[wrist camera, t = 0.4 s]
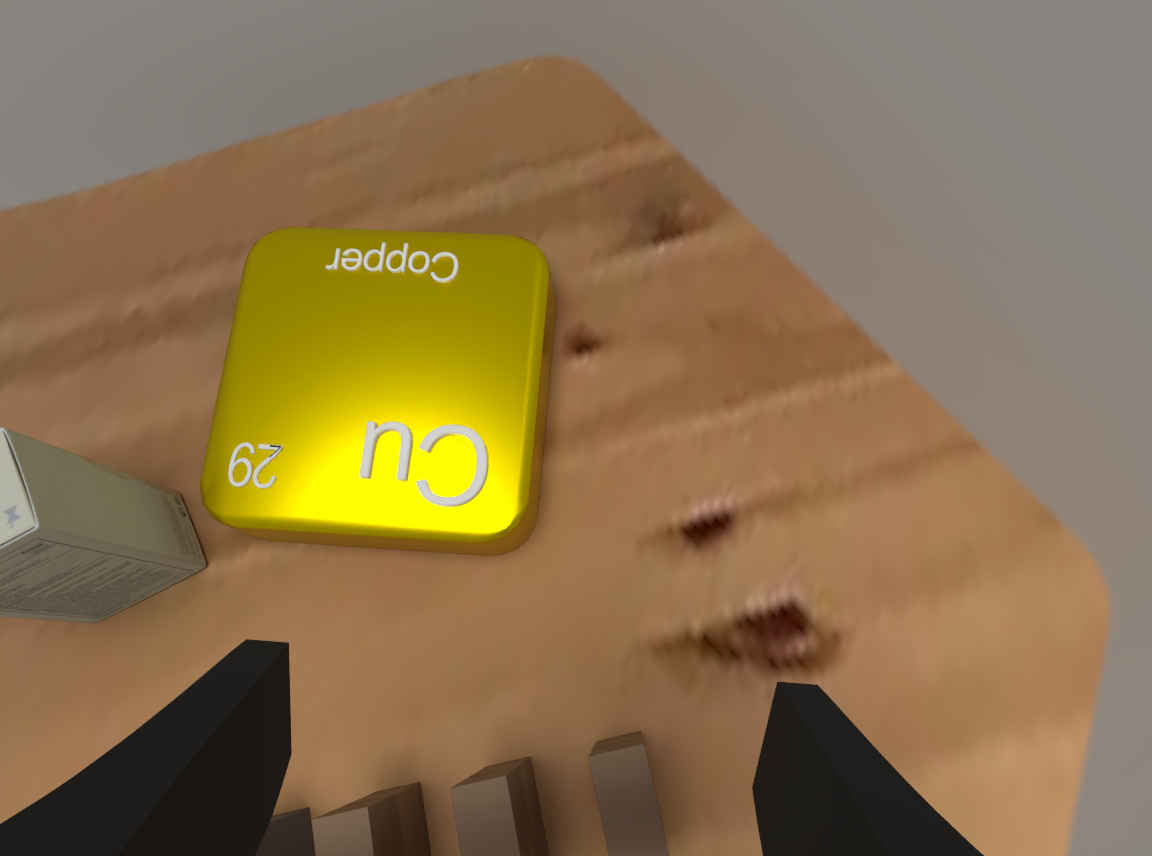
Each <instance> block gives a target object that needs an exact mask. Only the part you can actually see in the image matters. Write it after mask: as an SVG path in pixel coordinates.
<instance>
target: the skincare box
mask: <svg viewBox="0 0 1152 856" xmlns="http://www.w3.org/2000/svg"><path fill="white" fill-rule="evenodd" d="M205 567H206V561H205V558H204V556H203V553H202V550H201V547H200V544H199V541H198V539H197V536H196V533H195V531H194V528H193V525H192V523H191V520H190V518H189V515H188V513H187V510H186V507H185V505H184V503H183V500H182V498H181V496H180V494H179V492H177V491H175V490H172V489H169V488H166V487H164V486H161V485H158V484H155V483H153V482H150V481H148V480H145V479H142V478H139V477H137V476H134V475H131V474H128V473H126V472H123V471H120V470H118V469H115V468H112V467H110V466H107V465H104V464H101V463H99V462H96V461H93V460H90V459H88V458H85V457H82V456H79V455H77V454H74V453H71V452H68V451H66V450H63V449H60V448H58V447H55V446H52V445H50V444H47V443H44V442H41V441H39V440H36V439H33V438H30V437H28V436H25V435H22V434H20V433H17V432H14V431H12V430H9V429H6V428H0V617H15V618H29V619H43V620H57V621H72V622H86V623H96V622H98V621H100V620H102V619H105V618H107V617H109V616H111V615H113V614H115V613H117V612H119V611H121V610H123V609H125V608H127V607H129V606H131V605H134V604H136V603H138V602H139V601H141V600H143V599H146V598H148V597H150V596H151V595H153V594H155V593H157V592H159V591H161V590H163V589H165V588H167V587H169V586H171V585H173V584H175V583H177V582H179V581H181V580H183V579H185V578H187V577H188V576H190V575H192V574H194V573H196V572H198V571H200V570H201V569H203V568H205Z"/></svg>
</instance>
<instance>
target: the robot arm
mask: <svg viewBox="0 0 1152 856" xmlns="http://www.w3.org/2000/svg"><path fill="white" fill-rule="evenodd" d="M290 757H291V714H290V673H289V643H285V642H273V641H260V640H247V639H246V640H245V641H244V642H242V643H241V644H240V645H239V646H237V647H236V648H235V649H234V650H232V651H231V652H230V653H229V654H228V655H226V656H225V657H224V658H223V659H222V660H220V661H219V662H218V663H217V664H216V665H215V666H213V667H212V668H211V669H210V670H209V671H208V672H206V673H205V674H204V675H203V676H202V677H200V678H199V679H198V680H197V681H196V682H195V683H193V684H192V685H191V686H190V687H189V688H187V689H186V690H185V691H184V692H183V693H181V694H180V695H179V696H178V697H177V698H175V699H174V700H173V701H172V702H171V703H169V704H168V705H167V706H166V707H164V708H163V709H162V710H161V711H159V712H158V713H157V714H156V715H154V716H153V717H152V718H151V719H149V720H148V721H147V722H146V723H144V724H143V725H142V726H141V727H139V728H138V729H137V730H136V731H134V732H133V733H132V734H131V735H129V736H128V737H127V738H125V739H124V740H123V741H121V742H120V743H119V744H117V745H116V746H115V747H113V748H112V749H111V750H109V751H108V752H107V753H105V754H104V755H102V756H101V757H100V758H98V759H97V760H96V761H94V762H93V763H92V764H90V765H89V766H87V767H86V768H85V769H83V770H82V771H81V772H79V773H78V774H77V775H75V776H74V777H72V778H71V779H70V780H68V781H67V782H65V783H64V784H62V785H61V786H59V787H58V788H56V789H55V790H53V791H52V792H50V793H49V794H47V795H46V796H44V797H43V798H41V799H40V800H38V801H36V802H35V803H33V804H32V805H30V806H28V807H27V808H25V809H24V810H22V811H20V812H19V813H17V814H16V815H14V816H12V817H11V818H9V819H8V820H6V821H4V822H3V823H1V824H0V856H255V855H256V853H257V850H258V848H259V846H260V844H261V841H262V839H263V837H264V835H265V832H266V830H267V828H268V825H269V823H270V821H271V818H272V815H273V811H274V808H275V805H276V802H277V799H278V796H279V793H280V790H281V787H282V783H283V780H284V777H285V773H286V770H287V767H288V764H289V760H290ZM752 789H753V796H754V803H755V809H756V816H757V823H758V829H759V835H760V841H761V846H762V852H763V856H984V855H983V854H981V853H980V852H979V851H978V850H977V849H976V848H975V847H974V846H973V845H971V844H970V843H969V842H968V841H967V840H966V839H965V838H964V837H963V836H962V835H961V834H960V833H959V832H958V831H957V830H956V829H955V828H953V827H952V826H951V825H950V824H949V823H948V822H947V821H946V820H945V819H944V818H943V817H942V816H941V815H940V814H939V813H938V812H937V811H936V810H935V809H934V808H933V807H932V806H931V805H930V804H929V803H928V802H927V801H926V800H925V799H924V798H923V797H922V796H921V795H920V794H919V793H918V792H917V791H916V790H915V789H914V788H913V787H912V786H911V785H910V784H909V783H908V782H907V781H906V780H905V779H904V778H903V777H902V776H901V775H900V774H899V773H898V772H897V771H896V770H895V769H894V768H893V766H892V765H891V764H890V763H889V762H888V761H887V760H886V759H885V758H884V757H883V756H882V755H881V754H880V753H879V751H878V750H877V749H876V748H875V747H874V746H873V745H872V744H871V743H870V742H869V741H868V739H867V738H866V737H865V736H864V735H863V734H862V733H861V732H860V731H859V730H858V728H857V727H856V726H855V725H854V724H853V723H852V722H851V721H850V720H849V718H848V717H847V716H846V715H845V714H844V713H843V712H842V711H841V710H840V708H839V707H838V706H837V705H836V704H835V703H834V702H833V701H832V700H831V699H830V698H829V696H828V695H827V694H826V693H825V692H824V691H823V690H822V689H821V688H820V687H819V686H818V685H812V684H799V683H787V682H777V685H776V689H775V694H774V698H773V702H772V706H771V711H770V715H769V719H768V723H767V728H766V732H765V736H764V740H763V744H762V749H761V753H760V757H759V761H758V766H757V770H756V774H755V778H754V783H753V787H752Z"/></svg>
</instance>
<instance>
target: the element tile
mask: <svg viewBox="0 0 1152 856" xmlns="http://www.w3.org/2000/svg"><path fill="white" fill-rule="evenodd" d="M555 316H556V302H555V295H554V290H553V285H552V280H551V274H550V269H549V265H548V263H547V260H546V257H545V255H544V253H543V252H542V251H541V250H540V249H539V248H538V247H537V246H536V245H535V243H533V242H531V241H529V240H526V239H524V238H522V237H518V236H512V235H503V234H476V233H449V232H422V231H395V230H367V229H340V228H313V227H288V228H281V229H278V230H275V231H272V232H269V233H267V234H266V235H265V236H263V237H262V238H261V239H259V240H258V241H257V242H256V243H255V245H254V246H253V248H252V249H251V251H250V252H249V254H248V256H247V259H246V261H245V264H244V269H243V273H242V278H241V283H240V288H239V293H238V298H237V303H236V308H235V313H234V317H233V322H232V327H231V332H230V337H229V342H228V347H227V352H226V357H225V361H224V366H223V371H222V376H221V381H220V386H219V391H218V396H217V400H216V405H215V410H214V415H213V420H212V425H211V430H210V435H209V440H208V444H207V449H206V454H205V459H204V464H203V469H202V474H201V479H200V491H201V496H202V501H203V505H204V507H205V508H206V510H207V511H208V512H209V514H210V515H211V516H212V518H214V519H215V520H217V521H219V522H221V523H223V524H224V525H226V526H229V527H231V528H234V529H236V530H239V531H242V532H244V533H247V534H249V535H252V536H255V537H257V538H260V539H264V540H268V541H276V542H291V543H306V544H321V545H336V546H351V547H366V548H380V549H395V550H410V551H425V552H440V553H455V554H470V555H485V556H489V555H501V554H504V553H507V552H510V551H513V550H515V549H517V548H518V547H519V546H521V545H522V544H523V543H524V542H525V541H526V540H527V539H528V538H529V536H530V534H531V532H532V530H533V528H534V526H535V524H536V521H537V518H538V508H539V497H540V486H541V474H542V463H543V452H544V440H545V429H546V418H547V406H548V395H549V384H550V373H551V361H552V350H553V339H554V327H555Z"/></svg>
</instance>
